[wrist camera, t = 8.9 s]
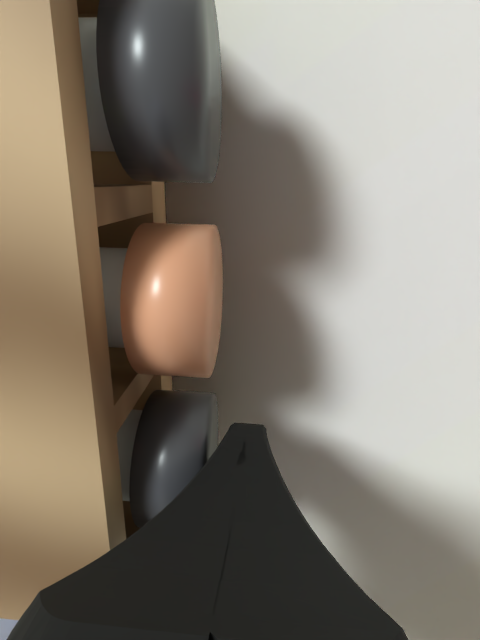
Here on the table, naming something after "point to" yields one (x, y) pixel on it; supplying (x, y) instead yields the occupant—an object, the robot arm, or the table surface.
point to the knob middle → (166, 298)
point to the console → (59, 309)
